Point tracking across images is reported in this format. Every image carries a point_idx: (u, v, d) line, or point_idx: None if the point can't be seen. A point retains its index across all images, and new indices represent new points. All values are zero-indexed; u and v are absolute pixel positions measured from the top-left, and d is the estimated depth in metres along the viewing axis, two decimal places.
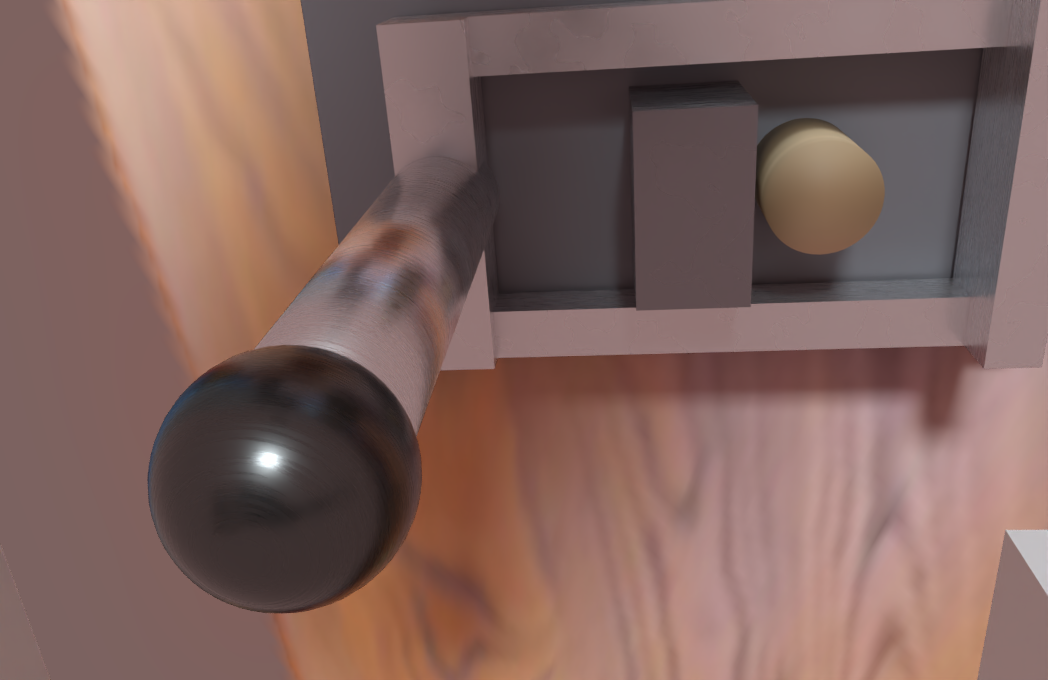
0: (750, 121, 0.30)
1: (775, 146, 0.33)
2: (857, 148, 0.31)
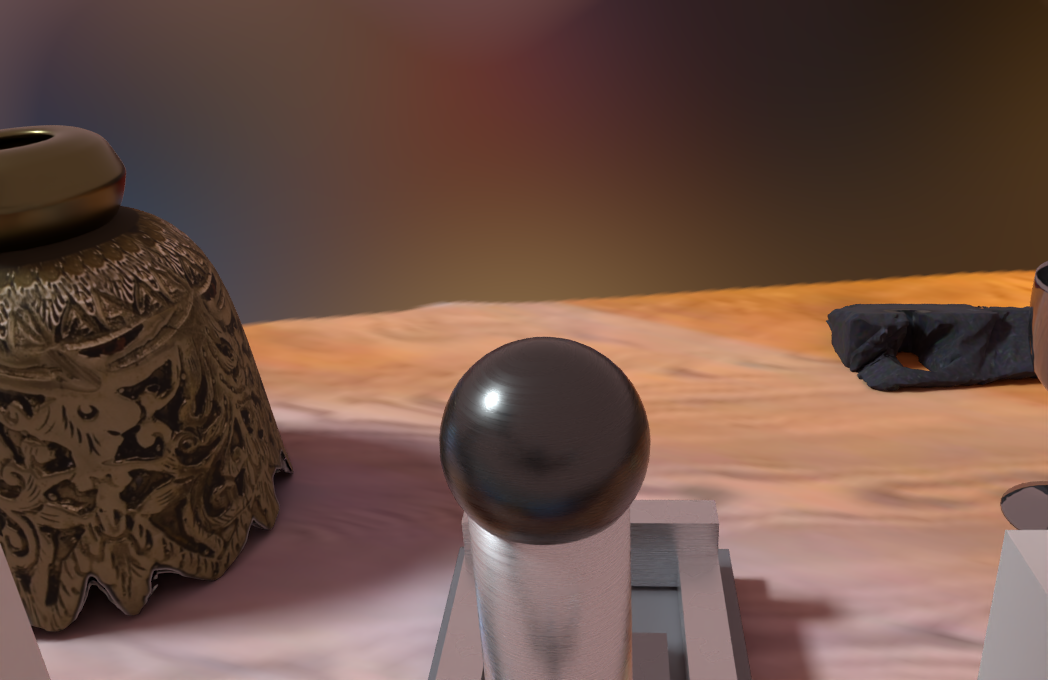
0: None
1: None
2: None
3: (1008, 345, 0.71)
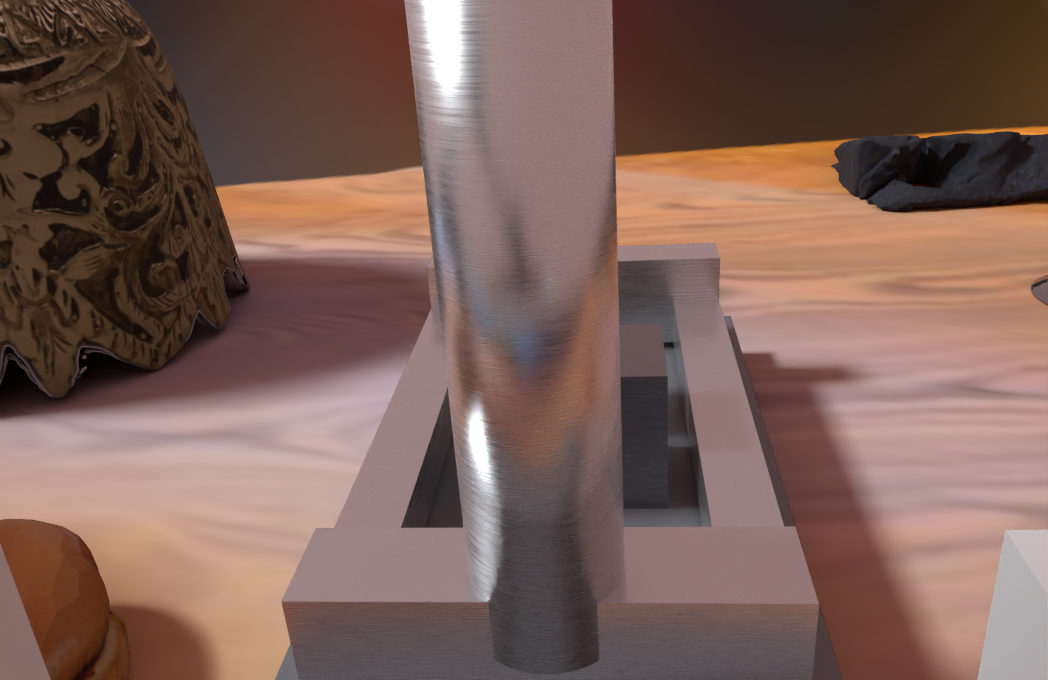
0: None
1: None
2: None
3: (1030, 165, 0.65)
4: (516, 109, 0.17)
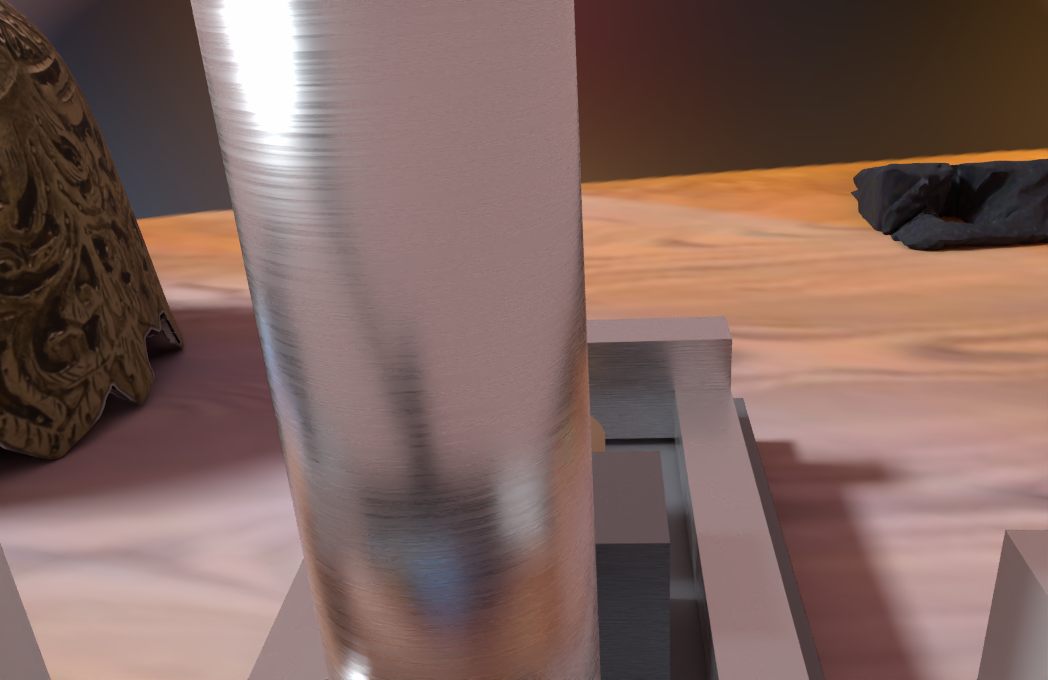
0: None
1: None
2: None
3: None
4: (398, 272, 0.09)
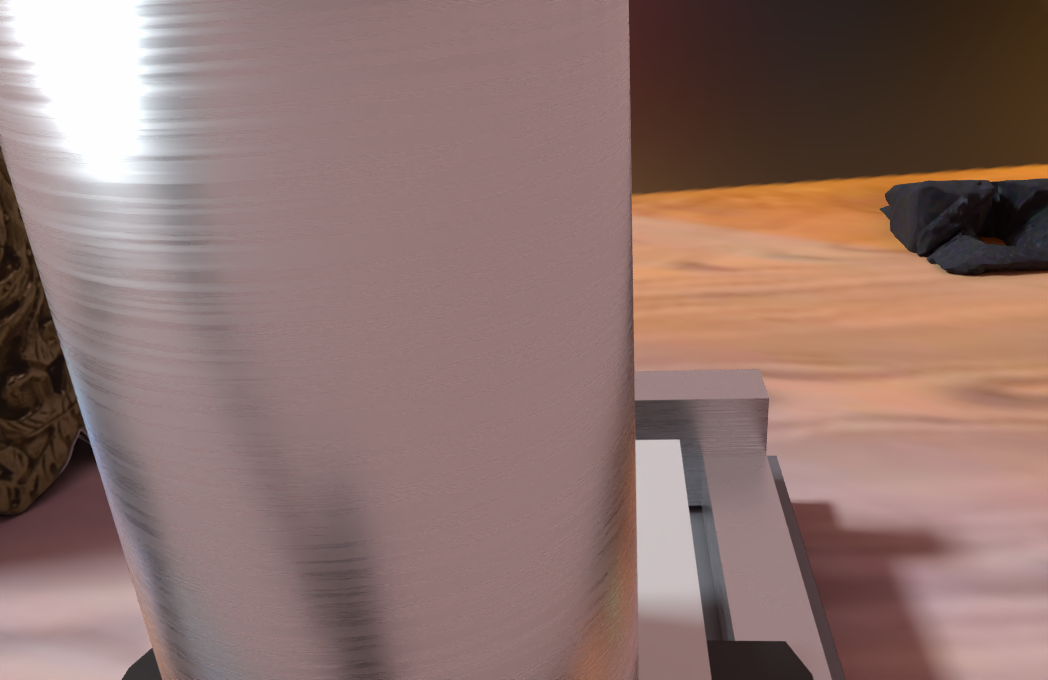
0: None
1: None
2: None
3: None
4: (332, 543, 0.05)
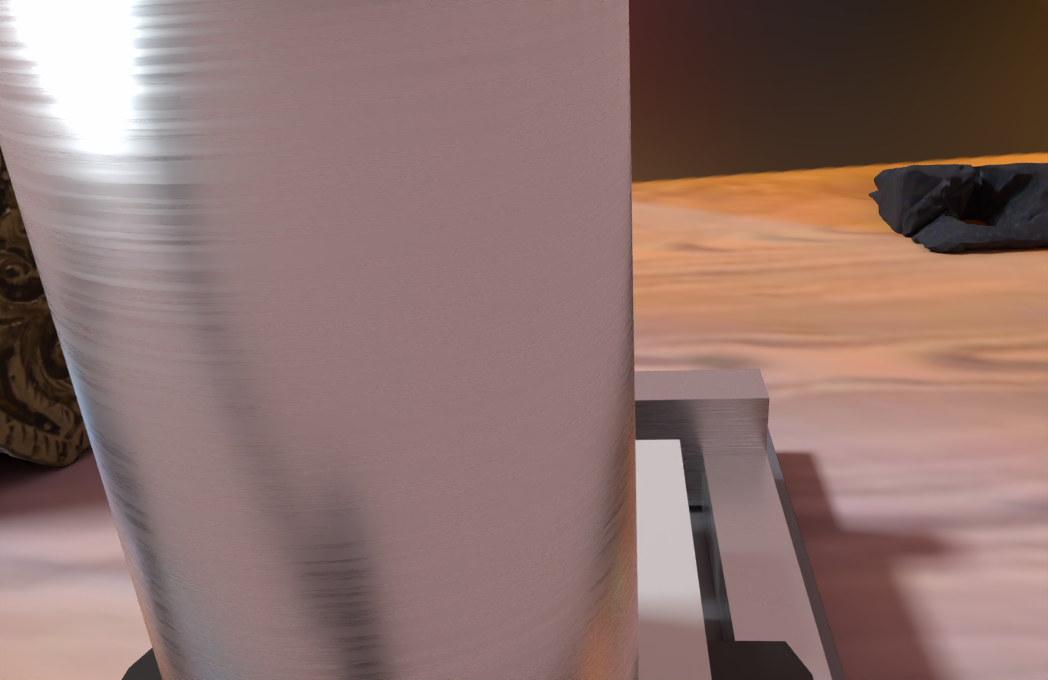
0: None
1: None
2: None
3: None
4: (332, 542, 0.05)
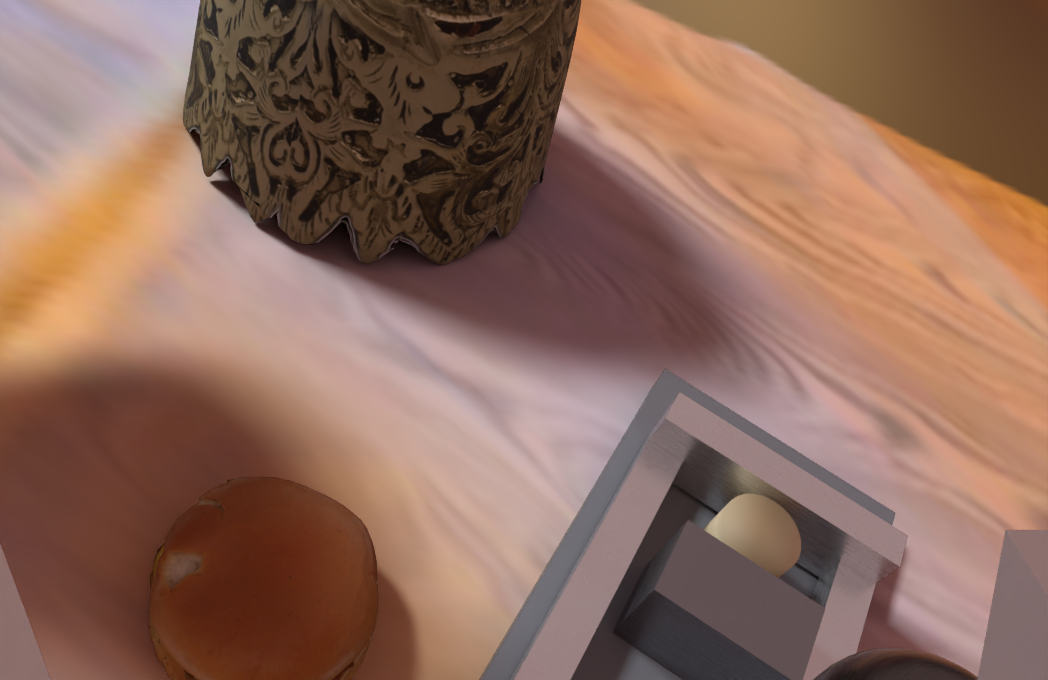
0: (695, 529, 0.41)
1: None
2: (736, 497, 0.44)
3: None
4: None
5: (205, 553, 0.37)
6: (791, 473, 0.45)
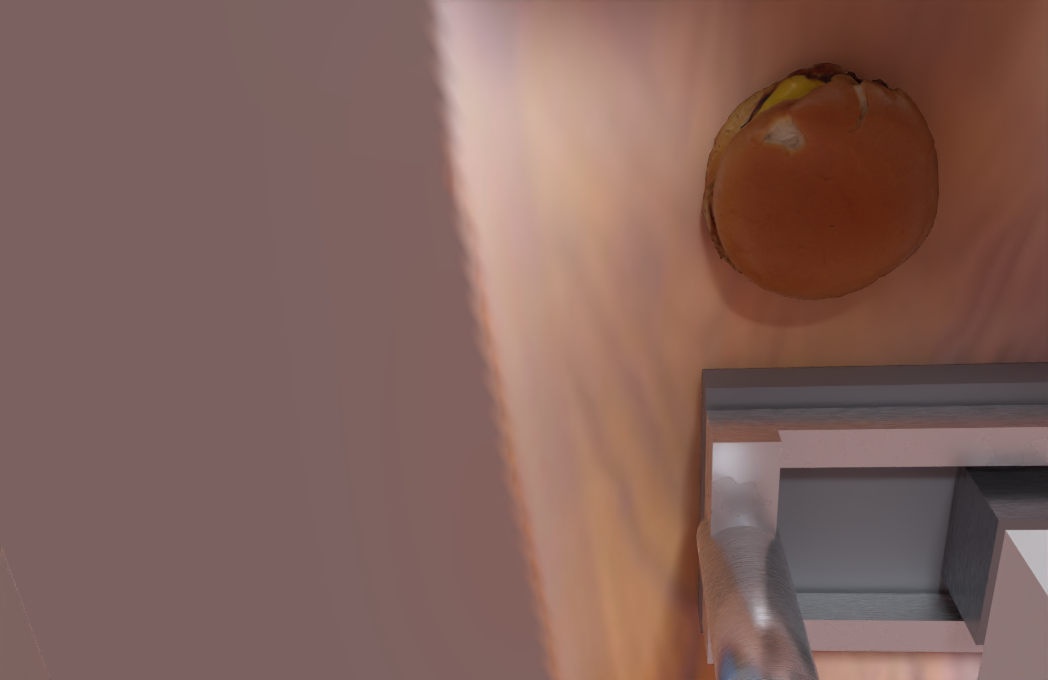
0: None
1: None
2: None
3: None
4: None
5: (809, 145, 0.36)
6: None
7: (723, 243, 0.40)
